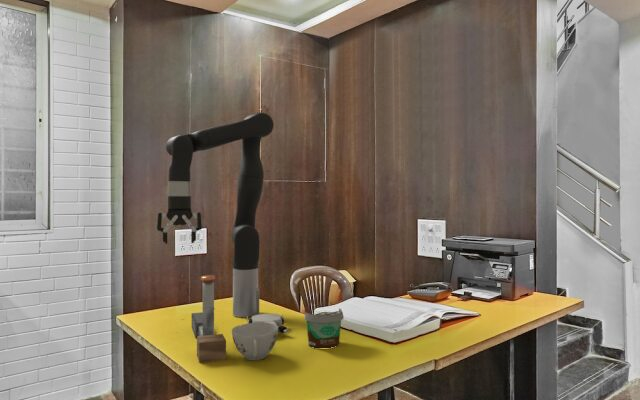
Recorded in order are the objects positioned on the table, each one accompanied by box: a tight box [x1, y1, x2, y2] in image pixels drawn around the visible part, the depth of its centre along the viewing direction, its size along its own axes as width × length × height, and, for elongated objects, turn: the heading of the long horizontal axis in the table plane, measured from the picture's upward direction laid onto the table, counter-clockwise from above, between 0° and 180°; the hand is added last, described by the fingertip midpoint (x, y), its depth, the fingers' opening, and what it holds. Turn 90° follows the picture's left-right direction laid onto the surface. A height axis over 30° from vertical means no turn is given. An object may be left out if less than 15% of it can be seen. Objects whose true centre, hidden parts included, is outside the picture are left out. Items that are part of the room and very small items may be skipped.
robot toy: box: [246, 313, 290, 334], centre depth 148 cm, size 12×4×15 cm
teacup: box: [231, 322, 279, 361], centre depth 124 cm, size 15×12×8 cm
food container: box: [303, 308, 344, 349], centre depth 134 cm, size 12×6×10 cm, turn 117°
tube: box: [197, 274, 216, 336], centre depth 135 cm, size 22×4×20 cm, turn 21°
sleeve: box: [191, 311, 203, 339], centre depth 149 cm, size 13×5×5 cm, turn 21°
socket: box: [196, 333, 227, 364], centre depth 125 cm, size 6×7×5 cm
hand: (179, 243), depth 154 cm, fingers open, 8 cm apart
